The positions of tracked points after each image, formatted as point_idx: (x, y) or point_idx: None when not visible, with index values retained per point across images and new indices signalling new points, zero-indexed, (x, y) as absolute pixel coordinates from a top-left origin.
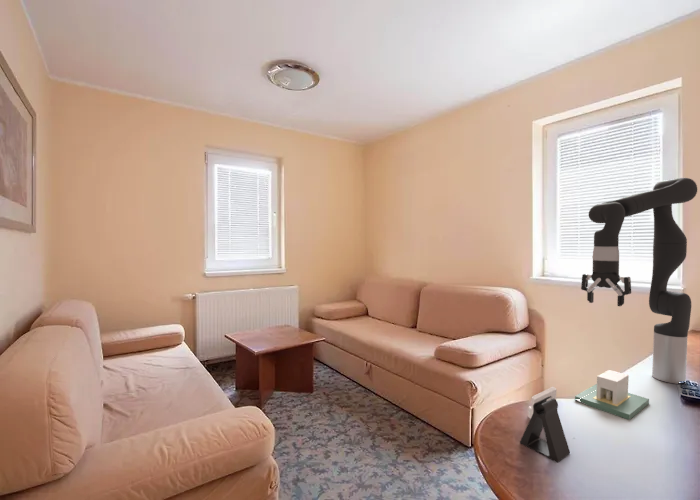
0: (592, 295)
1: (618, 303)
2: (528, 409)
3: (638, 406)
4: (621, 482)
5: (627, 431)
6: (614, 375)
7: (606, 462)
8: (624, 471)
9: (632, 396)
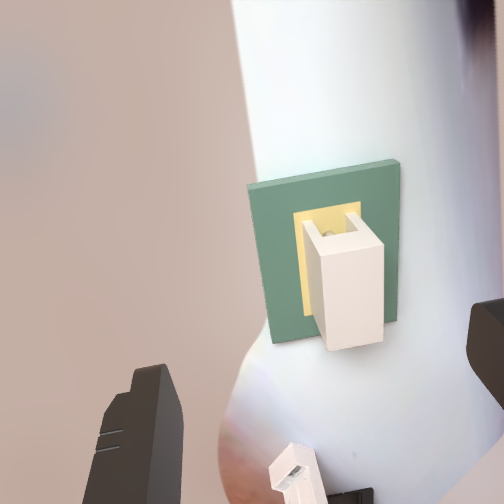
0: (165, 481)
1: (498, 387)
2: (271, 482)
3: (396, 254)
4: (439, 479)
5: (404, 361)
6: (356, 296)
7: (412, 463)
8: (435, 460)
9: (362, 194)
